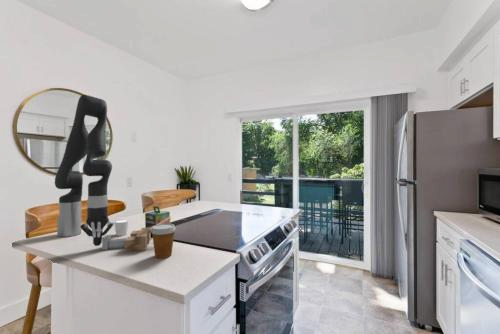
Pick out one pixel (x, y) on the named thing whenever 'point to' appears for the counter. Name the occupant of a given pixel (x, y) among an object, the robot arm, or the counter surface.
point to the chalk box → (155, 217)
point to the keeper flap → (161, 223)
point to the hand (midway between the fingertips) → (97, 245)
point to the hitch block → (138, 240)
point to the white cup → (121, 227)
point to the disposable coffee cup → (163, 239)
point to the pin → (112, 243)
